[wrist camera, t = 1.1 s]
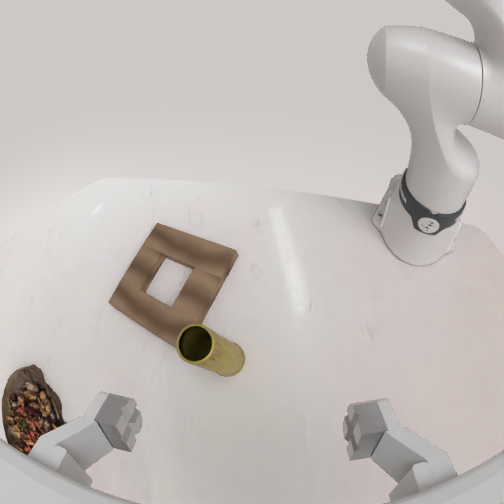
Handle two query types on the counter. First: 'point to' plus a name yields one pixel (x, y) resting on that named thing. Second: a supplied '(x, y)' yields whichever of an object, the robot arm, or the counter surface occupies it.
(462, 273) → the counter surface
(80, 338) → the counter surface
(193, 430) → the counter surface
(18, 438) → the food dish
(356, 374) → the counter surface
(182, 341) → the vase
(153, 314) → the socket
